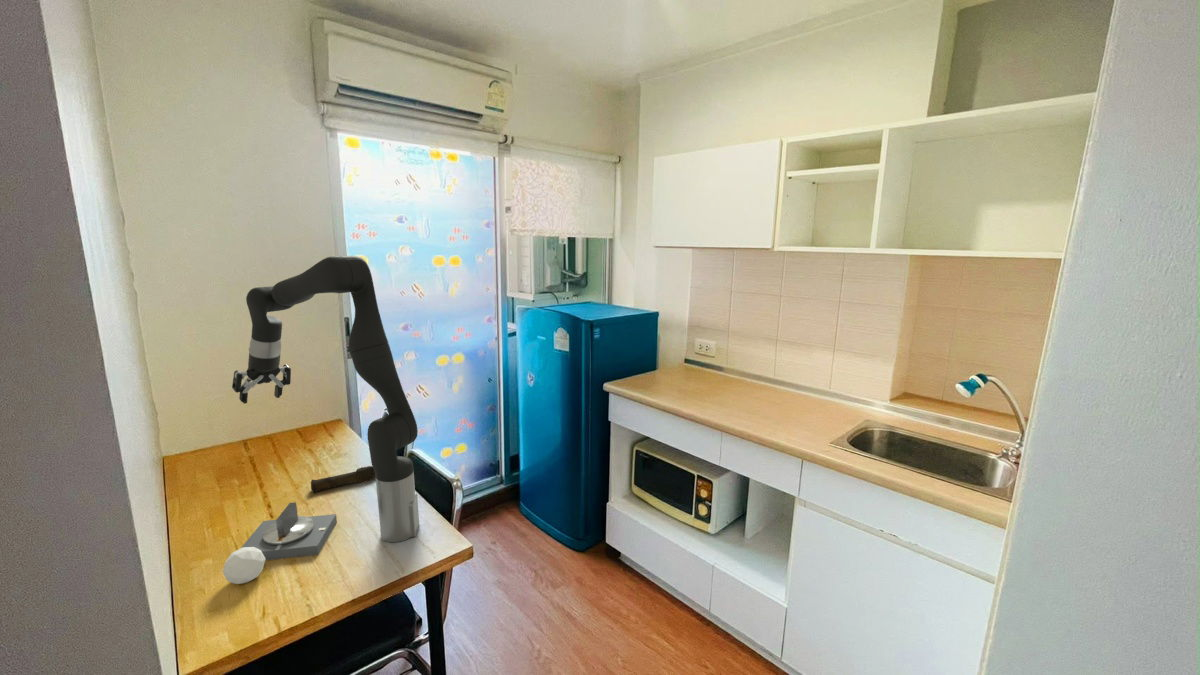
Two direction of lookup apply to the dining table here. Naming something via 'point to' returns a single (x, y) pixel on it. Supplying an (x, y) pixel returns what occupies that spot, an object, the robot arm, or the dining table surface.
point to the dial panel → (297, 548)
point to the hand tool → (344, 479)
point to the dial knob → (288, 527)
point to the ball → (244, 565)
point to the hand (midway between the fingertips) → (261, 399)
